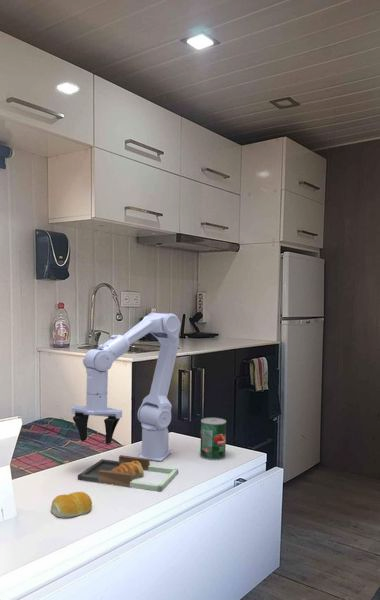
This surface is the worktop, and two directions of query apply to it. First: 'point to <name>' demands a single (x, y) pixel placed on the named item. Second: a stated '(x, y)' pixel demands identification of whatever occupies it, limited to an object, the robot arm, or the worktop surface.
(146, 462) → the corridor
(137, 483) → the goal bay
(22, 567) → the worktop surface
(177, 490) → the worktop surface
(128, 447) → the worktop surface
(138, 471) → the pastry
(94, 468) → the tray
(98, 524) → the worktop surface
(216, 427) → the canned tomato
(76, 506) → the bread roll
